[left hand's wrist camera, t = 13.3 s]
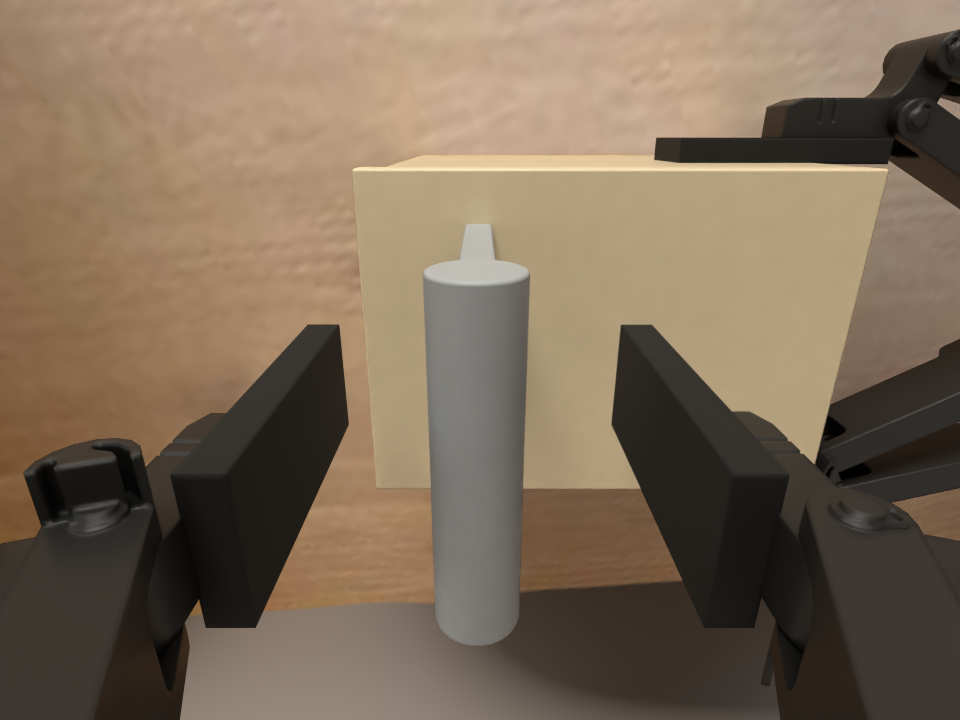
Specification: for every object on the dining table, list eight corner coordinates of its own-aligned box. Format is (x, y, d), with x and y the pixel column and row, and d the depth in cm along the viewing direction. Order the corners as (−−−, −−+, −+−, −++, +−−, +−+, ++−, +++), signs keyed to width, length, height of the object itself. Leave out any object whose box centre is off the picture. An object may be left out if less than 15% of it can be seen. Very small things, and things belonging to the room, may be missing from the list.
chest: (428, 358, 29) (400, 473, 19) (421, 155, 25) (382, 166, 15) (686, 358, 28) (793, 473, 19) (716, 155, 25) (866, 167, 15)
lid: (381, 473, 19) (315, 692, 11) (358, 167, 15) (241, 194, 8) (794, 474, 19) (998, 694, 11) (867, 167, 15) (1234, 195, 8)
